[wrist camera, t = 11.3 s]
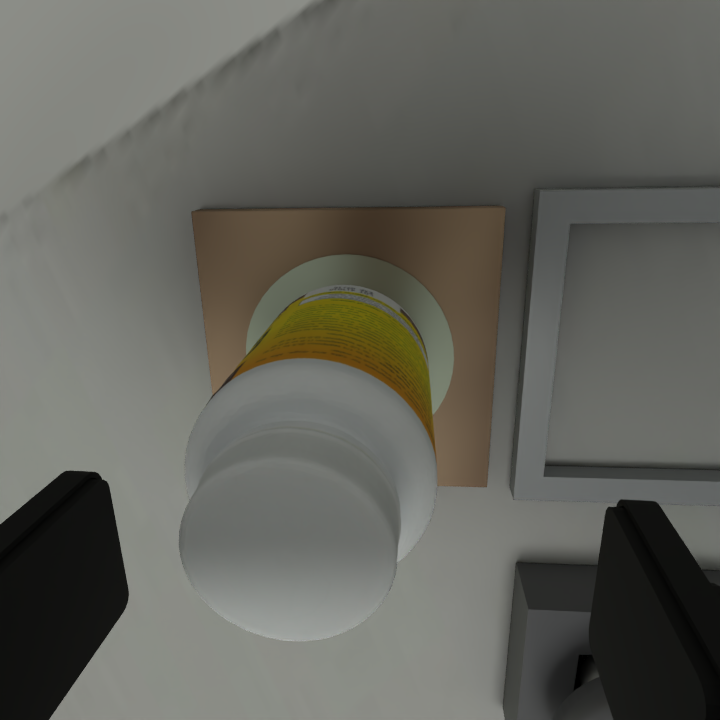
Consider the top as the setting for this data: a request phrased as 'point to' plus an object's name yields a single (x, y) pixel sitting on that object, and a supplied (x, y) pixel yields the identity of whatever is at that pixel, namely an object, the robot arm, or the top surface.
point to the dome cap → (586, 697)
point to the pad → (376, 272)
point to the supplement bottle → (312, 468)
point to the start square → (542, 339)
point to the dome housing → (549, 636)
